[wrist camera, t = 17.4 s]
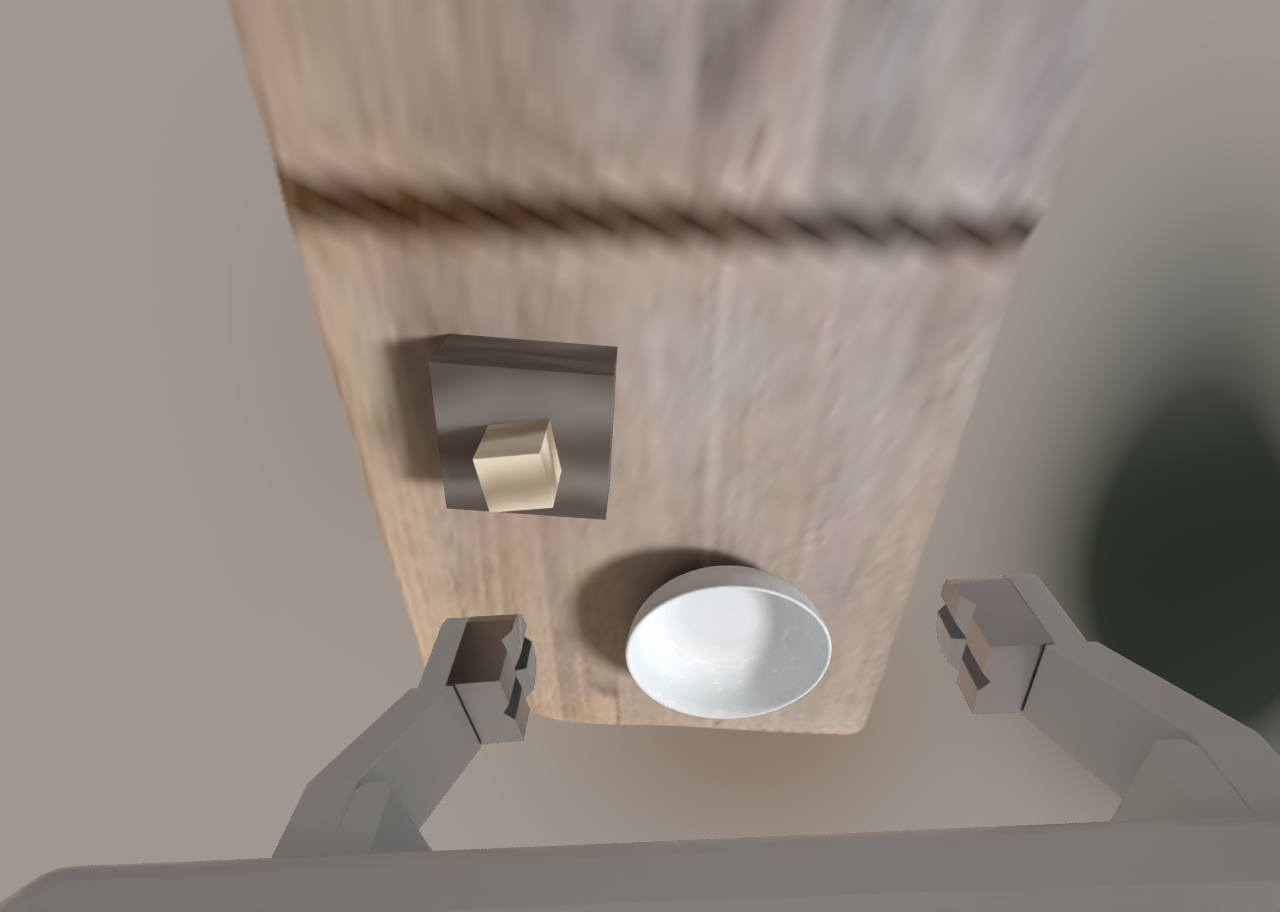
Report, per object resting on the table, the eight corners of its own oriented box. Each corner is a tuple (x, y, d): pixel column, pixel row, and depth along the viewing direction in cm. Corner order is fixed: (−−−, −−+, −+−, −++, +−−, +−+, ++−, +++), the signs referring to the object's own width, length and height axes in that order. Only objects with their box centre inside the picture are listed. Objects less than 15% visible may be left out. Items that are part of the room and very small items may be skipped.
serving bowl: (619, 541, 63) (616, 590, 57) (825, 533, 61) (843, 582, 56) (634, 671, 74) (632, 723, 68) (808, 666, 73) (821, 719, 67)
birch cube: (488, 424, 49) (472, 459, 44) (549, 419, 48) (539, 453, 44) (503, 475, 51) (489, 512, 47) (561, 470, 51) (552, 507, 47)
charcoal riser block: (450, 332, 51) (428, 361, 46) (617, 345, 51) (613, 376, 46) (464, 469, 58) (446, 508, 53) (609, 480, 59) (605, 519, 54)
